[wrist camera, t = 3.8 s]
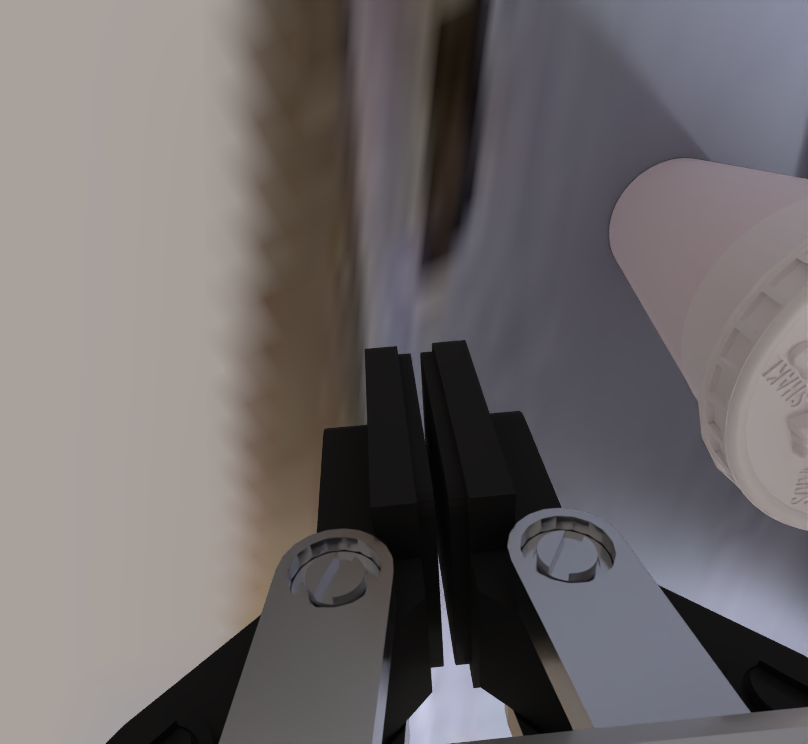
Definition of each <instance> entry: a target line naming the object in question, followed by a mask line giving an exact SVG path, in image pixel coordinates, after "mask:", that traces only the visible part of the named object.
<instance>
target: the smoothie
mask: <svg viewBox="0 0 808 744" xmlns="http://www.w3.org/2000/svg"><path fill="white" fill-rule="evenodd" d="M609 241H610V247H611V250H612V253H613V255H614V257H615V259H616V261H617V263H618V264H619V266H620V268H621V270H622V271H623V273H624V275H625V276H626V278H627V280H628V282H629V283H630V285H631V287H632V289H633V290H634V292H635V294H636V295H637V297H638V299H639V301H640V302H641V304H642V306H643V307H644V309H645V311H646V313H647V314H648V316H649V318H650V319H651V321H652V323H653V325H654V326H655V328H656V330H657V331H658V333H659V335H660V337H661V338H662V340H663V342H664V343H665V345H666V347H667V349H668V350H669V352H670V354H671V355H672V357H673V359H674V361H675V362H676V364H677V366H678V367H679V369H680V371H681V373H682V374H683V376H684V378H685V379H686V381H687V383H688V385H689V387H690V389H691V391H692V393H693V394H694V396H695V398H696V399H697V401H698V406H699V416H700V425H701V435H702V439H703V441H704V443H705V445H706V447H707V449H708V451H709V453H710V455H711V457H712V459H713V461H714V463H715V465H716V467H717V468H718V469H719V470H720V471H721V472H722V473H723V474H724V475H725V476H727V477H728V478H729V479H730V480H731V481H732V482H733V483H734V484H735V485H736V486H737V487H738V488H739V489H740V490H741V491H742V493H743V494H744V495H745V496H746V498H747V499H748V500H749V501H750V502H751V503H752V504H753V505H754V506H755V507H757V508H758V509H759V510H760V511H762V512H763V513H765V514H766V515H768V516H770V517H771V518H773V519H775V520H777V521H779V522H781V523H783V524H786V525H789V526H792V527H795V528H798V529H802V530H807V531H808V179H805V178H799V177H793V176H788V175H782V174H777V173H771V172H766V171H760V170H754V169H749V168H743V167H738V166H732V165H726V164H721V163H715V162H710V161H704V160H699V159H692V158H679V159H672V160H668V161H665V162H662V163H659V164H657V165H655V166H653V167H651V168H649V169H648V170H646V171H644V172H643V173H642V174H640V175H639V176H638V177H637V178H636V179H634V180H633V181H632V182H631V183H630V184H629V186H628V187H627V188H626V189H625V190H624V192H623V193H622V195H621V196H620V198H619V200H618V201H617V203H616V205H615V208H614V210H613V213H612V216H611V220H610V226H609Z"/></svg>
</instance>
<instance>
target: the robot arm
mask: <svg viewBox="0 0 808 744" xmlns="http://www.w3.org/2000/svg"><path fill="white" fill-rule="evenodd" d="M420 359H421V376H422V393H423V410H424V426H425V439H424V433H423V427H422V421H421V414H420V408H419V402H418V396H417V390H416V384H415V378H414V372H413V366H412V360H411V354H399V355H398V350H397V346H394V347H383V348H371V349H365V370H366V398H367V425H361V426H350V427H339V428H328V429H325V430H324V434H323V448H322V463H321V478H320V493H319V508H318V524H317V533H316V534H313V535H310V536H308V537H307V538H305V539H303V540H301V541H300V542H298V543H296V544H295V545H294V546H293V547H292V548H291V549H290V550H289V551H288V552H287V553H286V554H285V555H284V556H283V557H282V559H281V561H280V563H279V565H278V567H277V568H276V571H275V574H274V577H273V580H272V583H271V586H270V589H269V592H268V595H267V598H266V601H265V604H264V607H263V610H262V613H261V615H260V616H259V617H258V618H256V619H255V620H254V621H253V622H251V623H250V624H249V625H248V626H246V627H245V628H244V629H243V630H241V631H240V632H239V633H238V634H236V635H235V636H234V637H233V638H231V639H230V640H229V641H228V642H227V643H225V644H224V645H223V646H222V647H220V648H219V649H218V650H217V651H215V652H214V653H213V654H212V655H210V656H209V657H208V658H207V659H206V660H204V661H203V662H202V663H200V664H199V665H198V666H197V667H196V668H194V669H193V670H192V671H191V672H189V673H188V674H187V675H186V676H184V677H183V678H182V679H181V680H180V681H178V682H177V683H176V684H175V685H174V686H172V687H171V688H170V689H168V690H167V691H166V692H165V693H163V694H162V695H161V696H160V697H159V698H157V699H156V700H155V701H153V702H152V703H151V704H150V705H148V706H147V707H146V708H145V709H143V710H142V711H141V712H140V713H139V714H137V715H136V716H135V717H134V718H132V719H131V720H130V721H129V722H127V723H126V724H125V725H124V726H123V727H122V728H121V729H120V730H119V731H118V732H117V733H116V734H115V735H114V736H113V737H112V738H111V739H110V740H109V741H108V742H107V743H106V744H409V741H410V729H409V718H410V717H411V715H412V714H413V713H414V712H415V711H416V710H417V709H418V707H419V706H420V705H421V704H422V703H423V702H424V701H425V700H426V698H427V697H428V696H429V695H430V694H431V693H432V680H431V668H432V667H442V666H444V660H443V642H442V623H441V605H440V586H439V568H438V557H439V563H440V570H441V576H442V583H443V589H444V596H445V602H446V609H447V615H448V621H449V628H450V634H451V641H452V647H453V654H454V660H455V664H456V665H462V664H469V665H470V671H471V676H472V682H473V688H480V687H481V688H482V689H484V690H485V691H487V692H488V693H490V694H491V695H493V696H494V697H495V698H497V699H498V700H500V701H501V702H503V703H504V704H505V713H506V718H507V722H508V726H509V728H510V731H511V734H512V736H513V737H508V738H499V739H489V740H480V741H470V742H461V743H452V744H808V658H807V657H806V656H804V655H802V654H800V653H798V652H796V651H794V650H792V649H790V648H788V647H786V646H783V645H781V644H779V643H777V642H775V641H773V640H771V639H769V638H767V637H765V636H763V635H761V634H759V633H757V632H754V631H752V630H750V629H748V628H746V627H744V626H742V625H740V624H738V623H736V622H734V621H732V620H730V619H727V618H725V617H723V616H721V615H719V614H717V613H715V612H713V611H711V610H709V609H707V608H705V607H703V606H701V605H698V604H696V603H694V602H692V601H690V600H688V599H686V598H684V597H682V596H680V595H678V594H676V593H674V592H671V591H669V590H667V589H665V588H663V587H661V586H659V585H658V584H657V583H656V582H655V580H654V579H653V578H652V576H651V575H650V573H649V572H648V571H647V569H646V568H645V567H644V565H643V564H642V562H641V561H640V560H639V558H638V557H637V556H636V554H635V553H634V551H633V550H632V549H631V547H630V546H629V545H628V543H627V542H626V540H625V539H624V538H623V536H622V535H621V534H620V533H619V532H618V531H617V530H616V529H615V528H614V527H613V526H612V525H611V524H609V523H608V522H606V521H604V520H603V519H601V518H599V517H598V516H596V515H593V514H590V513H587V512H584V511H581V510H577V509H568V508H561V505H560V503H559V501H558V498H557V496H556V493H555V491H554V488H553V486H552V483H551V481H550V479H549V476H548V474H547V471H546V469H545V466H544V464H543V462H542V459H541V457H540V454H539V452H538V449H537V447H536V445H535V442H534V440H533V437H532V435H531V432H530V430H529V428H528V425H527V423H526V420H525V418H524V416H523V414H522V412H520V411H513V412H502V413H491V414H489V411H488V408H487V405H486V402H485V399H484V396H483V393H482V390H481V386H480V383H479V380H478V377H477V374H476V371H475V368H474V365H473V362H472V359H471V356H470V353H469V350H468V347H467V344H466V342H465V340H461V341H450V342H439V343H432V352H422V353H420ZM425 443H426V445H425Z"/></svg>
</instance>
